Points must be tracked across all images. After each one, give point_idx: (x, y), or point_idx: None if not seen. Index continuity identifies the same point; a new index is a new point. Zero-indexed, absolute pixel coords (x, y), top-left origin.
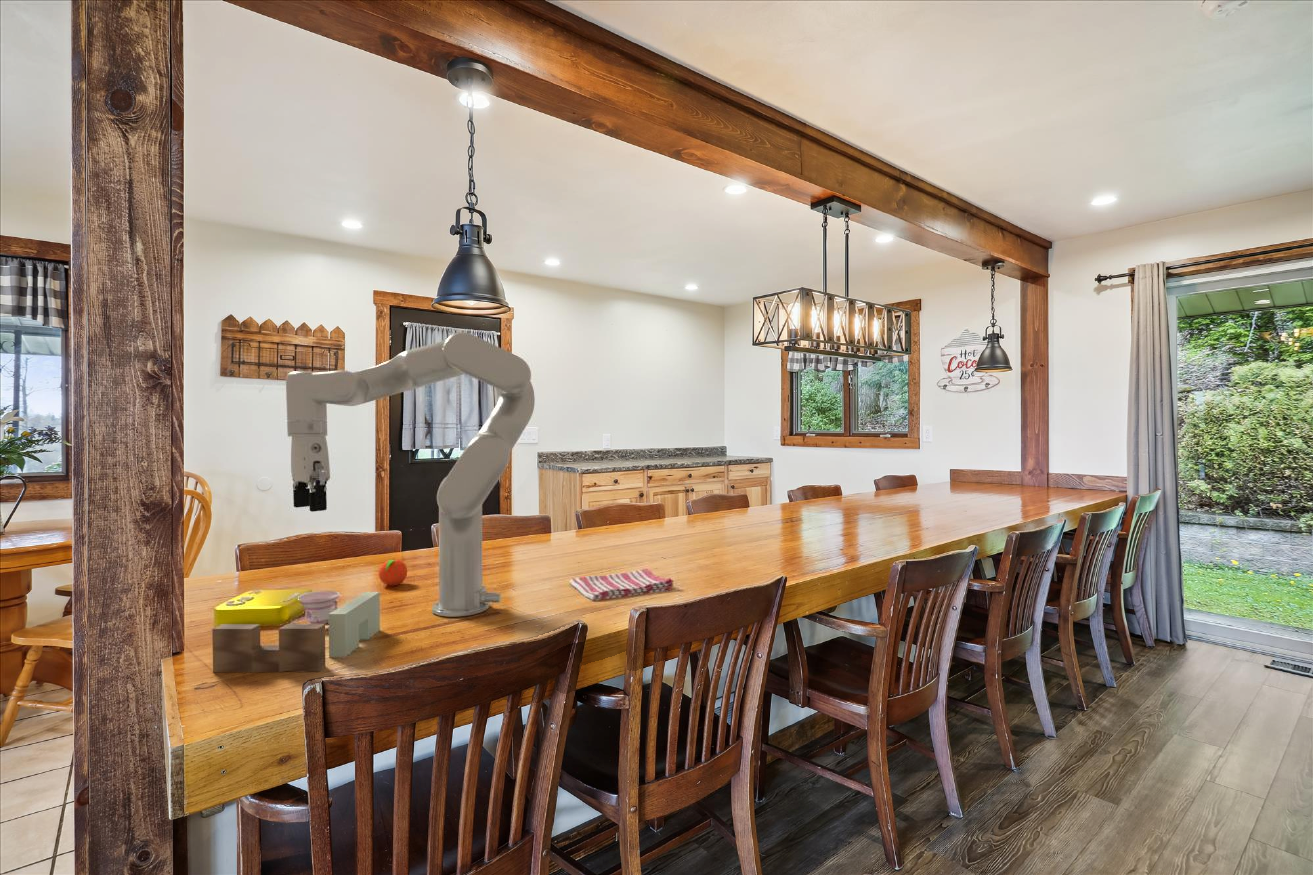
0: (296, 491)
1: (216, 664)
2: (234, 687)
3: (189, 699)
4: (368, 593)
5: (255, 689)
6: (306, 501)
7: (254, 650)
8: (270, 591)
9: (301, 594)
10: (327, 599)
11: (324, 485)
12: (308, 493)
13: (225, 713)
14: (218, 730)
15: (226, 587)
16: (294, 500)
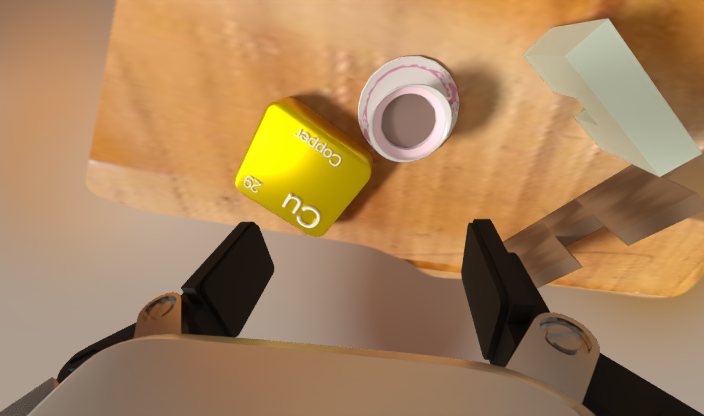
0: (238, 328)
1: None
2: (582, 250)
3: (570, 279)
4: (590, 52)
5: (614, 238)
6: (251, 249)
7: (568, 244)
8: (255, 164)
9: (376, 150)
10: (450, 119)
11: (668, 403)
12: (224, 271)
13: (651, 268)
14: (688, 279)
15: (116, 177)
16: (260, 294)
